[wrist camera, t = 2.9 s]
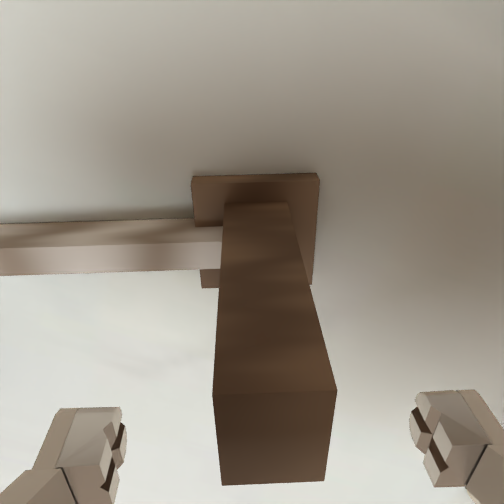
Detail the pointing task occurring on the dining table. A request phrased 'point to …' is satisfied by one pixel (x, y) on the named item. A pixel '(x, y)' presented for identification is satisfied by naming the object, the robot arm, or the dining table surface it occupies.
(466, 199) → the dining table surface
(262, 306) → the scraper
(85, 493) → the robot arm
